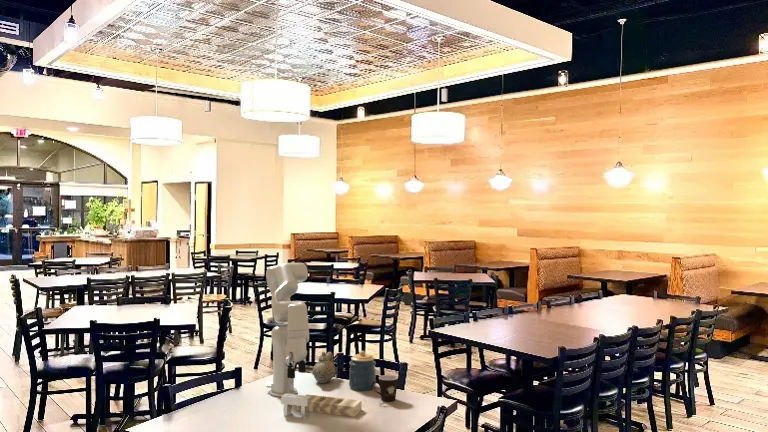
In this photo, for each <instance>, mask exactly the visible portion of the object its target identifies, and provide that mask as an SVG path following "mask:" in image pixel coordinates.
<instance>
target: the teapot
mask: <svg viewBox="0 0 768 432" xmlns="http://www.w3.org/2000/svg"><path fill="white" fill-rule="evenodd" d="M333 355H334V354H333V353H332V352H331V351H328V352H327V353H326V351H322V352H321V355H320V356H318V361H317V362H316V363H315V364H314V366H313V367H312V376H313V378H314V379H315V381H316V382H317V383H320V384H326V383H328V382H329V381H331V380H332V379H333V378H334V377H335V376H336V374H337V371H336V366H335V364H334V356H333Z"/></svg>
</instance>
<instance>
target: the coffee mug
mask: <svg viewBox="0 0 768 432" xmlns="http://www.w3.org/2000/svg"><path fill="white" fill-rule="evenodd" d="M398 379H399V377H398V376H396V375H391V374H385V375H380V376H379V377H378V381H377V380H376V381H375V382H373V383H372V385H371V387H372V389H371V390H373V391H374V392H375V393H377V394H378V395H380V401H382V402H385V403H393V402H394V401H396V398H397V397H396V396H397V389H398V382H399V381H398ZM374 383H376V384H378V386H379V390H380V391H377V390H376V389H375V388H374V389H373V384H374Z"/></svg>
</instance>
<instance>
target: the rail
mask: <svg viewBox="0 0 768 432" xmlns="http://www.w3.org/2000/svg"><path fill="white" fill-rule="evenodd" d="M304 396H312V404H310V405H309V413H310V412H313V413H318V414H319V413H321V414H328V415H338V416H345V417H352V418H353V417H355V416H357V415H358V413H360V412H361V411H362V406H363V405H362V401H363V400H360V399H350V398H341V397H333V396H331V397H330V396H326V395H325V396H324V395H314V394H305V395H304ZM296 410H297V411H301V406H299V405H296Z"/></svg>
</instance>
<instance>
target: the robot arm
mask: <svg viewBox="0 0 768 432" xmlns="http://www.w3.org/2000/svg"><path fill="white" fill-rule="evenodd" d="M308 275H309V273H308V266H306V264H305V263H303V262H283V263H280V264H278V265H273V266H269V267H268V268H267V269H266V273H265V277H266V283H267V286H268V289H269V291H270V294H271V311H272V316H273V319H274V322H275V323H278V324H280V325H276V326H274V327H273V328H272V330H271V333H270V335H271V343H272V355H273V356H272V359H273V360H272V362H273V363H272V367H273V369H272V376H273V377H272V379H273V380H272V382H269V381H268V382H266V385H265V388H269V389H270V390H269V394H270V396H273V397H279V398H281V396H282V395H284V394H295V395H297V393H298V389H297V388H295V384H294V383H295V378H296V368H295V366H296V364H297V365H298V368H297V370H298V373H301V374H305V373H306V372H307V356H308V350H307V343H308V342H309V340H310V327H309V318H308V317H309V316H308V309H307V308H308V307H307V304H306V303H305V302H304V301H303V300H291V297H292V296H293V295H295V294H296V293H297V291H298V289H299V284H298V283H303V282H305V281H306V280H307V279H308ZM281 324H282V325H281Z"/></svg>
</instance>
